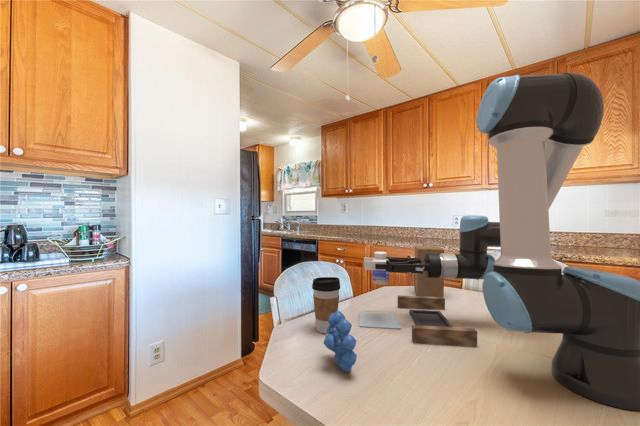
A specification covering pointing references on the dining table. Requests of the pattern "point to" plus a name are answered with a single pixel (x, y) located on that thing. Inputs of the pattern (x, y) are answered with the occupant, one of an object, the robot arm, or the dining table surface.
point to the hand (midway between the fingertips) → (364, 263)
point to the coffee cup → (325, 300)
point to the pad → (378, 320)
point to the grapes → (341, 341)
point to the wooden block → (421, 281)
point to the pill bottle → (380, 275)
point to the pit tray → (429, 318)
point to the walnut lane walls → (436, 333)
